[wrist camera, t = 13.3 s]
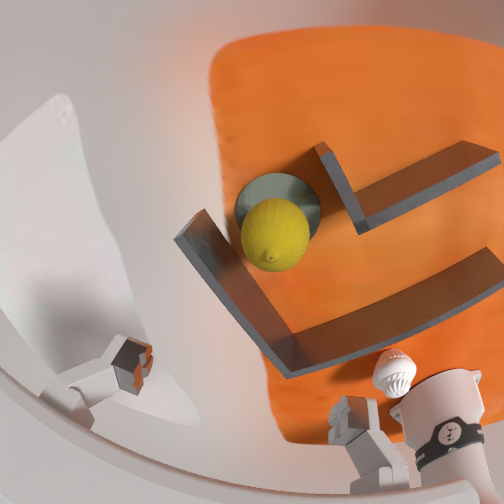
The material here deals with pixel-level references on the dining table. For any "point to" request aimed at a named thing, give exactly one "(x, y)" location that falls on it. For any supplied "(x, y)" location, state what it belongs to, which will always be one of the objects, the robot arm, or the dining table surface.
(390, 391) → the white rounded piece
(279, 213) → the lemon
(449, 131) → the dining table surface
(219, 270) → the rail corridor
